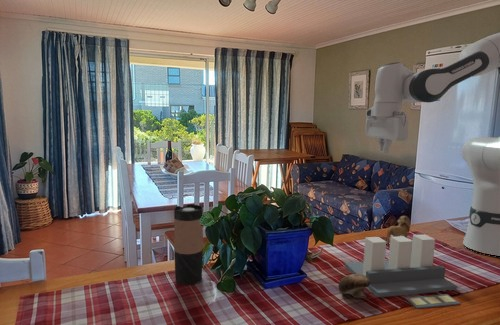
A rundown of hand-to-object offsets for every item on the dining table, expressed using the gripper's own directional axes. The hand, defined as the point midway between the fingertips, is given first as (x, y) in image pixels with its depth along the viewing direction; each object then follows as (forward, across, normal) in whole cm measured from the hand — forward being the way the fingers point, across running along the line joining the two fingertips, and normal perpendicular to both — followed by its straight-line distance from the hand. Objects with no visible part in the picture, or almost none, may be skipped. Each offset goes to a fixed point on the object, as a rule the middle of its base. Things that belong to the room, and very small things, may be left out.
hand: (383, 152), depth 119 cm
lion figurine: (+33, +1, -8) cm, 34 cm away
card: (+33, -38, +8) cm, 51 cm away
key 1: (+32, -25, +16) cm, 43 cm away
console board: (+33, -25, +9) cm, 42 cm away
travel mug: (+33, -17, +67) cm, 77 cm away
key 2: (+31, -25, +1) cm, 40 cm away
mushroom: (+34, -32, +26) cm, 53 cm away
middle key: (+32, -26, +9) cm, 42 cm away
